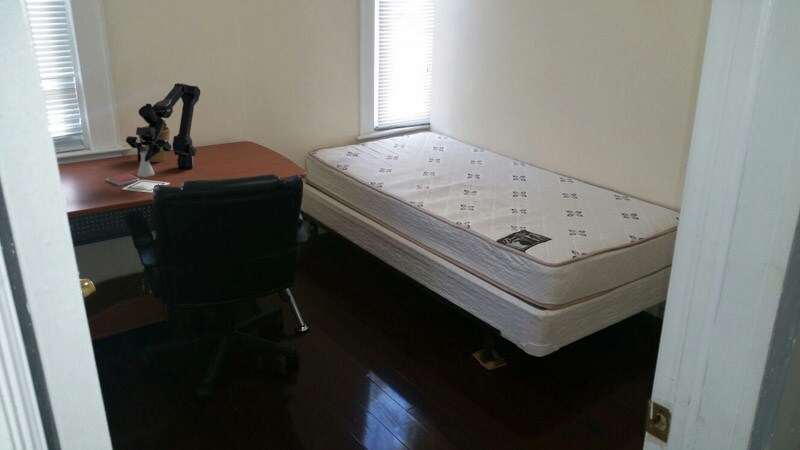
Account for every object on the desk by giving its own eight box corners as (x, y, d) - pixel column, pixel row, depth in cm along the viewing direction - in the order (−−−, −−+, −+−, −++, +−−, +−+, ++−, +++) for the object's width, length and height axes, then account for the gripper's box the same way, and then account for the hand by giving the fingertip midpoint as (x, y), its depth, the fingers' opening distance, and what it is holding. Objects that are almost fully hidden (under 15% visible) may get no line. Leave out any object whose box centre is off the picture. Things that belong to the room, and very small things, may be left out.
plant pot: (163, 165, 308) (159, 132, 302) (134, 163, 310) (130, 130, 304) (178, 158, 321) (175, 126, 316) (150, 155, 324) (147, 124, 318)
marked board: (141, 180, 284) (141, 179, 284) (170, 183, 282) (170, 182, 281) (122, 189, 272) (121, 188, 271) (151, 192, 269) (151, 191, 269)
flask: (157, 175, 275) (154, 153, 271) (140, 178, 270) (137, 155, 267) (152, 171, 280) (149, 149, 276) (135, 174, 276) (132, 151, 272)
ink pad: (127, 176, 289) (127, 173, 289) (139, 181, 284) (139, 177, 283) (106, 180, 282) (105, 177, 281) (118, 185, 276) (117, 182, 276)
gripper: (125, 117, 272) (112, 148, 266) (165, 121, 268) (152, 153, 262) (138, 131, 282) (126, 162, 276) (177, 135, 278) (165, 166, 272)
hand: (142, 160), depth 271 cm, fingers closed on flask, 3 cm apart
